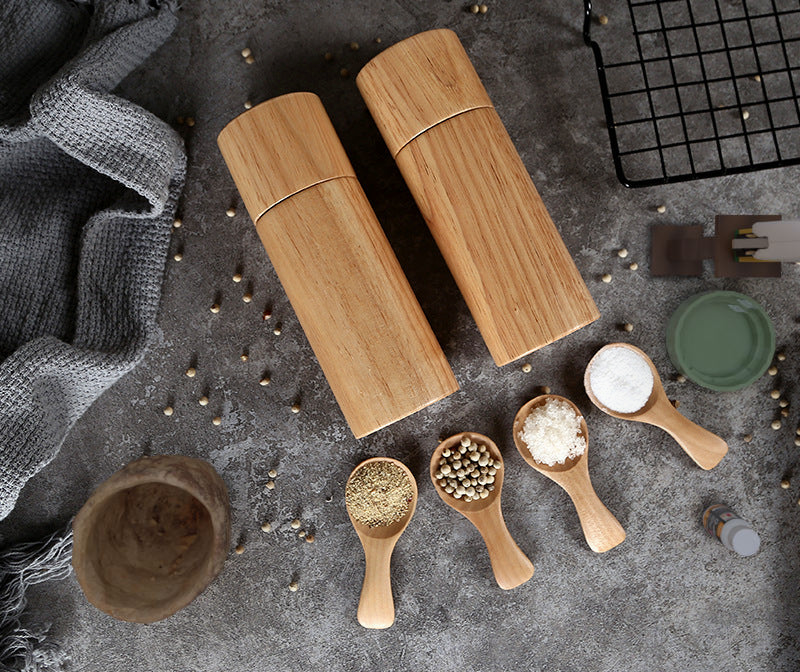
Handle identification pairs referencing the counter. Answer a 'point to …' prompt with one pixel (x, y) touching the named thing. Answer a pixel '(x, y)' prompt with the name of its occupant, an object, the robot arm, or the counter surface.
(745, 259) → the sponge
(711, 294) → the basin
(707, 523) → the pill bottle
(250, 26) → the counter surface
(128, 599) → the brown pot
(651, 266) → the stand
